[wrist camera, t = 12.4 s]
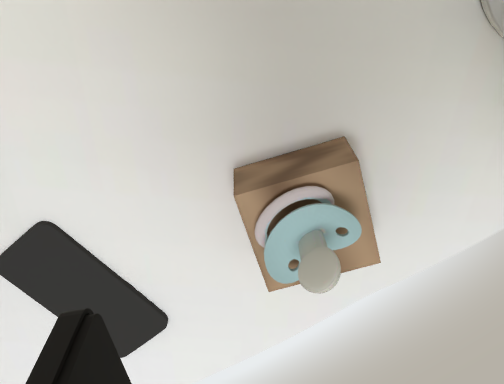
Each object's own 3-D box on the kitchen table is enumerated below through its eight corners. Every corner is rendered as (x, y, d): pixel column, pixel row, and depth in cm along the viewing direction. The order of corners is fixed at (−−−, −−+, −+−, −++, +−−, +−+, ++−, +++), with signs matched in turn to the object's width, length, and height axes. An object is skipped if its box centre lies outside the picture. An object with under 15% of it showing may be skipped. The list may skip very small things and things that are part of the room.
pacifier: (235, 224, 35) (286, 275, 37) (234, 274, 29) (294, 331, 31) (316, 164, 33) (364, 221, 35) (332, 205, 27) (388, 271, 29)
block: (343, 134, 37) (358, 160, 33) (364, 228, 41) (380, 262, 37) (233, 167, 38) (233, 196, 34) (265, 255, 42) (268, 292, 38)
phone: (43, 217, 39) (173, 323, 44) (47, 212, 39) (174, 317, 45) (-13, 266, 41) (118, 362, 46) (-8, 261, 42) (120, 355, 47)
